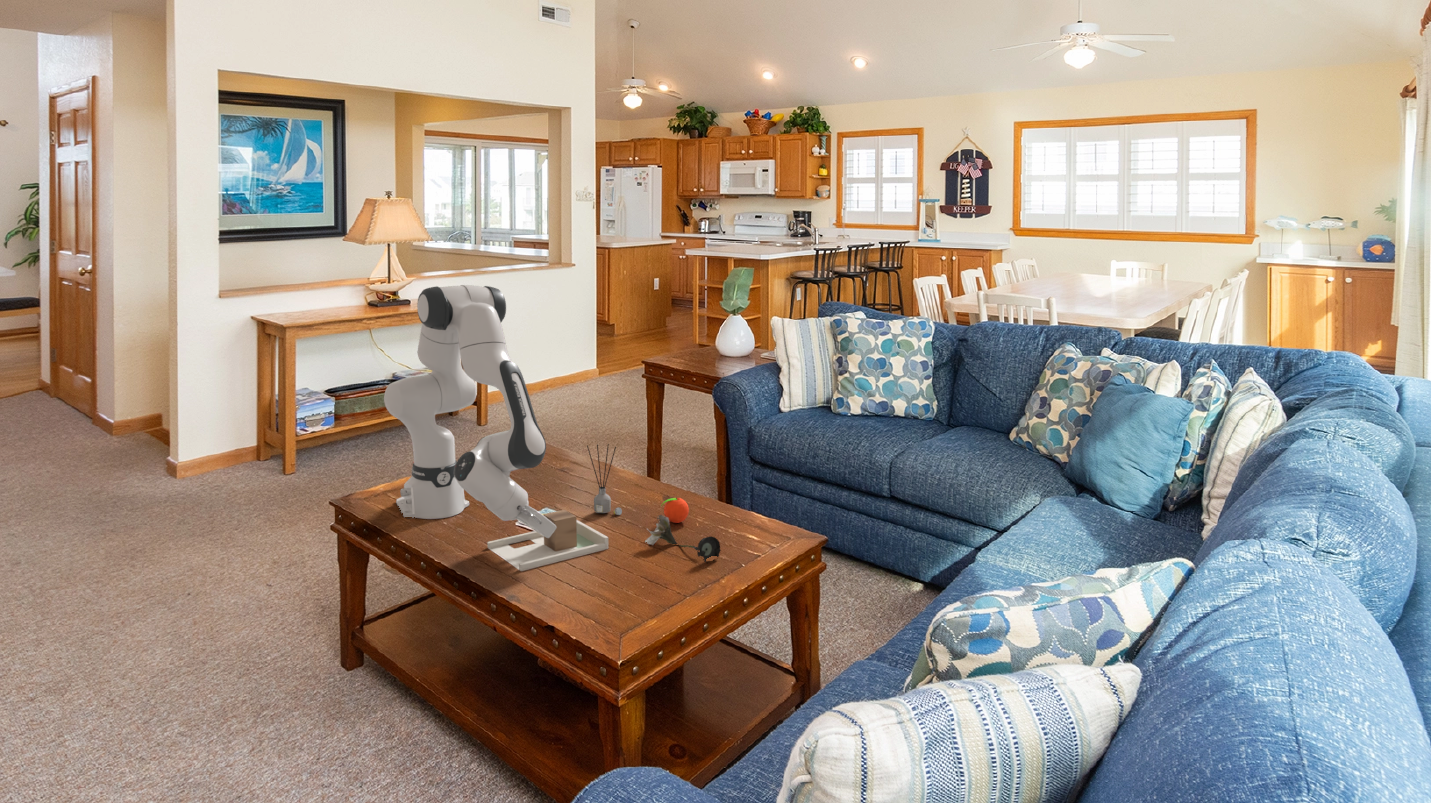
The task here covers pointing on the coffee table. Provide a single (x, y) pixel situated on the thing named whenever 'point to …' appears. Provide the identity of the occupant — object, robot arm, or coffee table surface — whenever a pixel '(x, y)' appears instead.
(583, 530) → the white rimmed tray
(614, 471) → the coffee table surface
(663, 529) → the artificial flower
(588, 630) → the coffee table surface
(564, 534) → the walnut block
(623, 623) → the coffee table surface
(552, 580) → the coffee table surface
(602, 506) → the reed diffuser
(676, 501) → the clementine
